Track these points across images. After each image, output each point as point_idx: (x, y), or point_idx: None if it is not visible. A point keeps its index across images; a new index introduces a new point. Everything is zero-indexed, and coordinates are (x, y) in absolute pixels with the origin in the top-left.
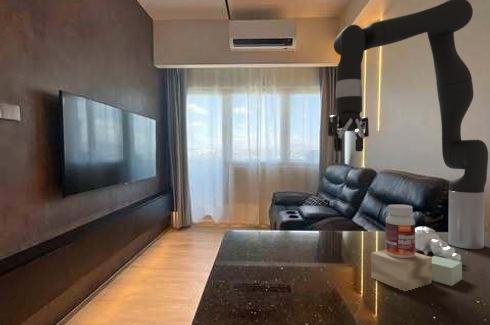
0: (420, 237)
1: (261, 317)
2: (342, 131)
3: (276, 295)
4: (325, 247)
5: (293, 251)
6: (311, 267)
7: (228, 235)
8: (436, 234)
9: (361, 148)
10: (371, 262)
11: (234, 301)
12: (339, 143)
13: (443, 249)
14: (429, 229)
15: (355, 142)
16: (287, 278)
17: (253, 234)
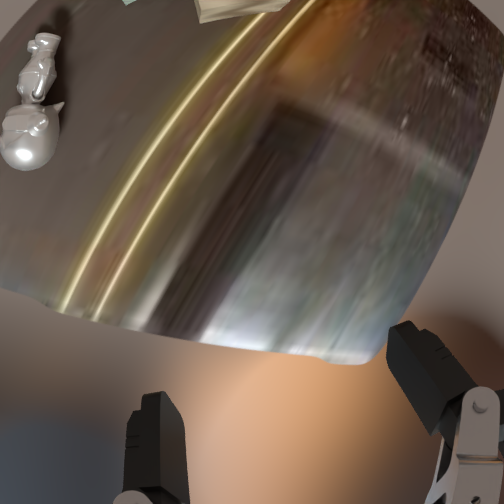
0: (47, 115)
1: (469, 5)
2: (480, 456)
3: (445, 35)
4: (256, 213)
5: (341, 205)
6: (357, 100)
7: None
8: (11, 108)
9: (155, 406)
10: (287, 2)
11: (483, 52)
12: (439, 365)
13: (52, 44)
14: (17, 115)
15: (187, 483)
16: (415, 75)
17: (350, 334)
